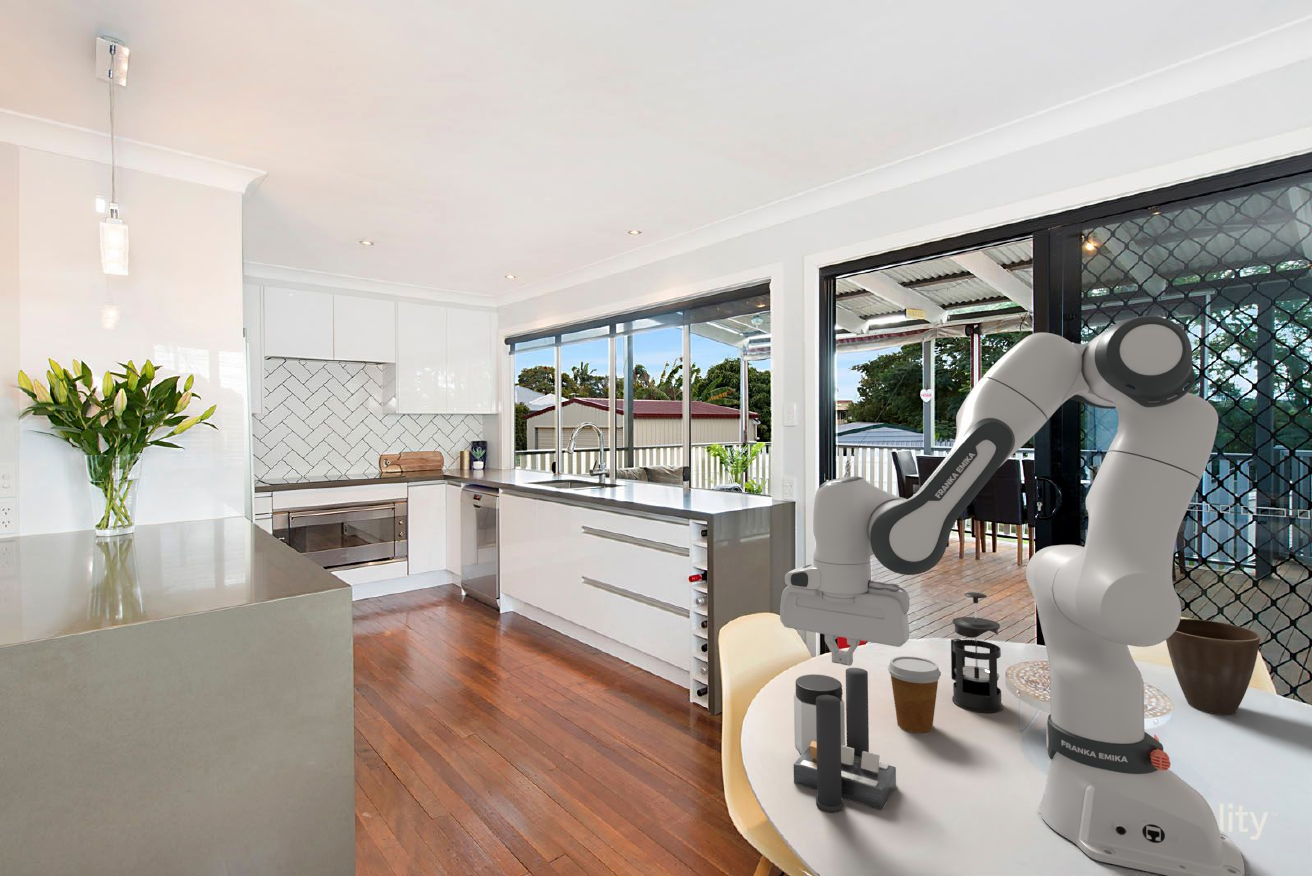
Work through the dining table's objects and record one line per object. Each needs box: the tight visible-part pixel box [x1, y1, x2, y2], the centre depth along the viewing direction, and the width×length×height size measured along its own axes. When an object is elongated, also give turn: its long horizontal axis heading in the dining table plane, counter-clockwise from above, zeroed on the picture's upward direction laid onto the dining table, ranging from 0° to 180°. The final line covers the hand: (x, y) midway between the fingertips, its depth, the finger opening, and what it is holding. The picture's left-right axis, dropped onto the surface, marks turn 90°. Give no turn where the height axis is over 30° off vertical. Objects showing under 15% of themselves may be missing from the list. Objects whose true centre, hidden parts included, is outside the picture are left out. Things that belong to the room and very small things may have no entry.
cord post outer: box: [815, 695, 844, 814], centre depth 97 cm, size 4×4×16 cm
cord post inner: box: [845, 667, 870, 757], centre depth 108 cm, size 4×4×16 cm
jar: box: [793, 673, 846, 756], centre depth 114 cm, size 9×8×12 cm
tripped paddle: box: [810, 741, 817, 759], centre depth 104 cm, size 2×1×2 cm, turn 55°
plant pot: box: [1165, 618, 1261, 716], centre depth 129 cm, size 15×15×16 cm
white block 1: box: [841, 745, 854, 765], centre depth 103 cm, size 2×1×2 cm, turn 55°
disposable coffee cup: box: [887, 655, 942, 734], centre depth 123 cm, size 10×10×12 cm
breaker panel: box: [793, 747, 897, 811], centre depth 102 cm, size 14×8×3 cm, turn 55°
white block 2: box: [861, 751, 880, 772], centre depth 101 cm, size 2×1×2 cm, turn 55°
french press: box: [950, 591, 1004, 714], centre depth 133 cm, size 12×9×23 cm
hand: (842, 663), depth 102 cm, fingers closed
